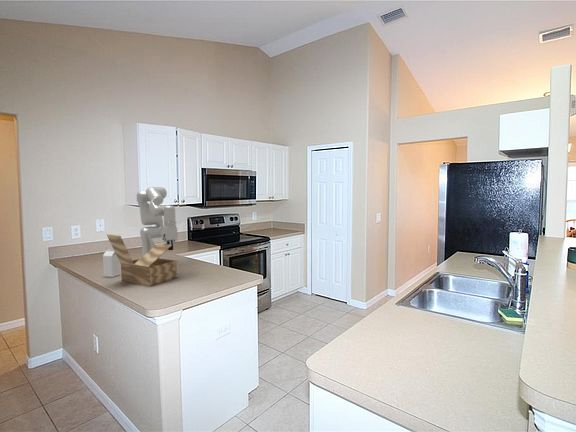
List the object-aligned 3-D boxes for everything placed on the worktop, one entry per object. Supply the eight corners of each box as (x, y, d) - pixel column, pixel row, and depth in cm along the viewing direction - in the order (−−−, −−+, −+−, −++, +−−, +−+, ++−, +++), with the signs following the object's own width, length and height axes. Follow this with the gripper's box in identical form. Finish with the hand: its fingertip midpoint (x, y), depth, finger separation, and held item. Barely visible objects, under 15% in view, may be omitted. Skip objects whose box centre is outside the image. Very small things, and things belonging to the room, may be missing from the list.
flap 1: (107, 234, 203) (106, 234, 203) (120, 235, 197) (119, 235, 196) (121, 262, 212) (120, 262, 212) (134, 264, 206) (133, 265, 206)
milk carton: (112, 277, 221) (111, 250, 219) (103, 276, 222) (102, 250, 221) (119, 274, 228) (118, 248, 226) (111, 274, 229) (110, 248, 228)
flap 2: (158, 243, 222) (158, 243, 221) (172, 245, 215) (171, 244, 215) (134, 264, 206) (134, 264, 206) (148, 267, 199) (148, 266, 199)
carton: (149, 272, 233) (149, 256, 232) (176, 277, 220) (176, 260, 218) (121, 280, 214) (120, 262, 213) (149, 286, 200) (148, 267, 199)
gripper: (174, 222, 227) (175, 247, 229) (157, 224, 214) (158, 251, 215) (182, 223, 224) (182, 248, 225) (164, 225, 210) (165, 252, 212)
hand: (170, 249), depth 220 cm, fingers closed
